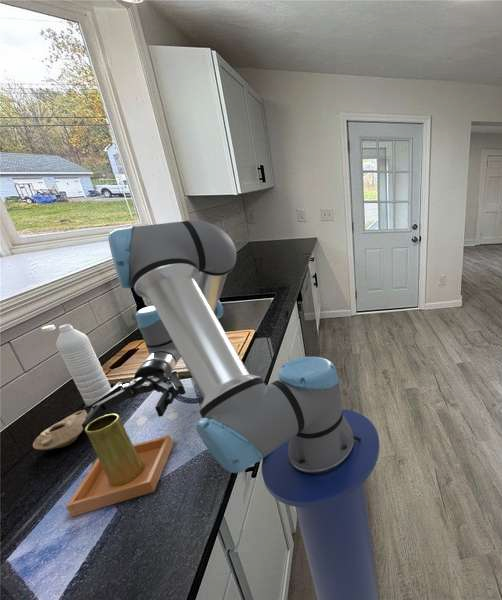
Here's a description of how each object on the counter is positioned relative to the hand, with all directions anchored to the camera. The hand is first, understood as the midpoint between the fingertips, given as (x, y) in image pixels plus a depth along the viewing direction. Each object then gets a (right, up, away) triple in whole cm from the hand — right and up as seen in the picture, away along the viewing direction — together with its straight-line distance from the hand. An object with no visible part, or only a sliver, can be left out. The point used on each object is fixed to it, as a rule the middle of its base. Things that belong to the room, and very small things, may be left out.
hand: (123, 420), depth 70 cm
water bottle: (-30, -3, +25) cm, 39 cm away
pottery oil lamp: (-22, -9, +10) cm, 26 cm away
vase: (+2, -11, -2) cm, 12 cm away
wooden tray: (+3, -12, -2) cm, 12 cm away
